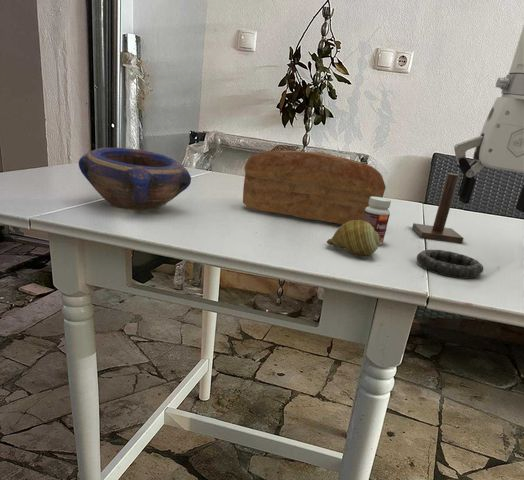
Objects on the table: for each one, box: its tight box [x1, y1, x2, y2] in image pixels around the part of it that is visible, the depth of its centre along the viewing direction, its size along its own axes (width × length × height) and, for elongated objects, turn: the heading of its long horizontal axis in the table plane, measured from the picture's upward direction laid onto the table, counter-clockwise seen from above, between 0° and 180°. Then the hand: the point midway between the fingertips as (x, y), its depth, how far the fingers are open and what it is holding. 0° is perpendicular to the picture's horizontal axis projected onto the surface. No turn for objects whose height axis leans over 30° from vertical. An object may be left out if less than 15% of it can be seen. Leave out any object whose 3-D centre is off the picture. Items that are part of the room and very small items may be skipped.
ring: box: [416, 249, 484, 279], centre depth 88 cm, size 11×11×2 cm
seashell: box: [326, 220, 382, 258], centre depth 89 cm, size 10×7×8 cm
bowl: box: [78, 147, 192, 211], centre depth 98 cm, size 18×18×10 cm
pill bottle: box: [363, 197, 392, 246], centre depth 97 cm, size 5×5×8 cm
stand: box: [411, 172, 464, 244], centre depth 110 cm, size 9×9×13 cm
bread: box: [242, 149, 386, 226], centre depth 111 cm, size 12×31×14 cm, turn 78°
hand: (492, 206), depth 83 cm, fingers open, 9 cm apart
